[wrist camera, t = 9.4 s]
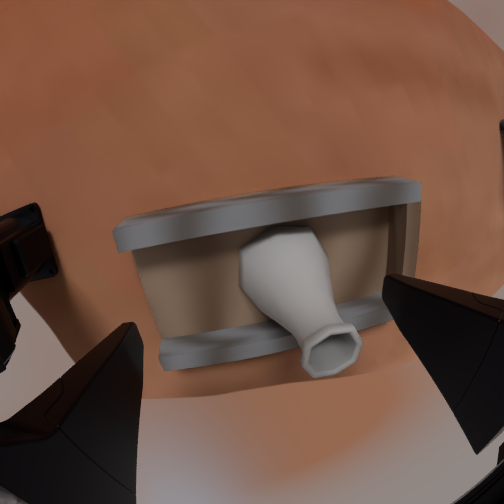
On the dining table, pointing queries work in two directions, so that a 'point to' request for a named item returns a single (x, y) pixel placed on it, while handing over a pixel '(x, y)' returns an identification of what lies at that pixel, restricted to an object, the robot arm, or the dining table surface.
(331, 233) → the grey rectangular tray
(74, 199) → the dining table surface
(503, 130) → the flask
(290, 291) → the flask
